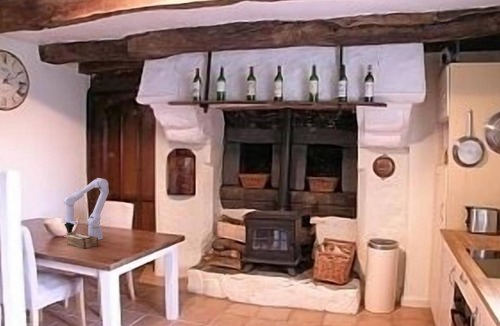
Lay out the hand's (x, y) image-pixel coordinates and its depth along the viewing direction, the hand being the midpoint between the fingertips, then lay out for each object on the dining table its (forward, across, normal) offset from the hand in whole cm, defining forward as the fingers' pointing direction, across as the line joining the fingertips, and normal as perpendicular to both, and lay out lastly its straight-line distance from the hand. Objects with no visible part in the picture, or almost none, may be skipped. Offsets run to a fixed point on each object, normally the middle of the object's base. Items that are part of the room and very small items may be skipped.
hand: (69, 233), depth 328 cm
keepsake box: (+6, +15, 0) cm, 16 cm away
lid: (+1, +9, 0) cm, 9 cm away
